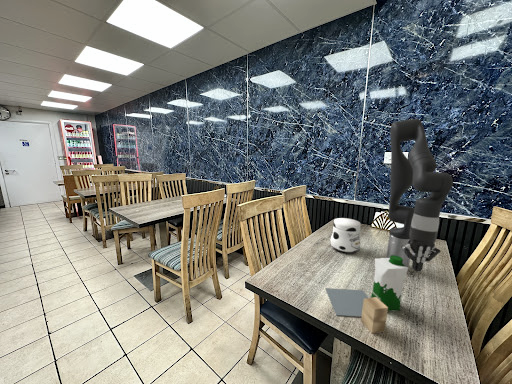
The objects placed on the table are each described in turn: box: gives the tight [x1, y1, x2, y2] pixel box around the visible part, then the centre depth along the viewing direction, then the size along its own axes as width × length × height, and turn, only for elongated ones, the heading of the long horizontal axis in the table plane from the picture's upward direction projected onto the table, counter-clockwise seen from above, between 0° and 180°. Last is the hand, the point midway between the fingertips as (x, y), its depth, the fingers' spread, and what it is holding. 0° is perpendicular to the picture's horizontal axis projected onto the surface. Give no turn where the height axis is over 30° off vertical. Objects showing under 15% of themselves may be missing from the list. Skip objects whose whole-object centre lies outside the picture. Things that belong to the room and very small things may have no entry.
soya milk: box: [370, 255, 409, 312], centre depth 77 cm, size 9×9×20 cm
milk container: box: [330, 217, 362, 254], centre depth 125 cm, size 17×17×18 cm
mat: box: [325, 287, 369, 318], centre depth 79 cm, size 16×15×1 cm
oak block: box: [360, 297, 389, 334], centre depth 68 cm, size 5×5×9 cm
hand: (416, 270), depth 75 cm, fingers closed
